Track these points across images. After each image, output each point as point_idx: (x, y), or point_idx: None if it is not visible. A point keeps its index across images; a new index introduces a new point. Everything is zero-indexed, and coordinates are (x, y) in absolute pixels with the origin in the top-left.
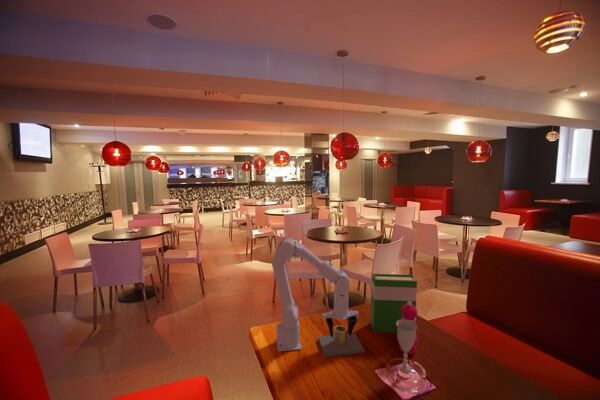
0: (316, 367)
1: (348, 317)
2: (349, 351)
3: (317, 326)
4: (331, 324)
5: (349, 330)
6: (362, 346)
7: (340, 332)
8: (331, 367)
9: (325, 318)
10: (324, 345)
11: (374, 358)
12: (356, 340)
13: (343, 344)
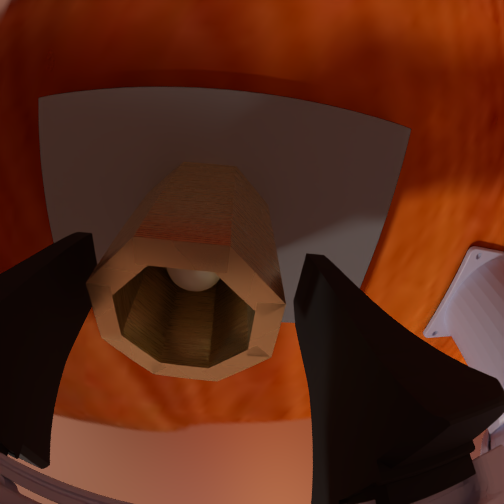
0: (472, 62)
1: (30, 439)
2: (165, 88)
3: (278, 391)
4: (453, 392)
5: (69, 276)
6: (39, 136)
7: (219, 245)
8: (389, 5)
9: (497, 477)
10: (362, 222)
11: (23, 38)
12: (64, 218)
13: (193, 168)
